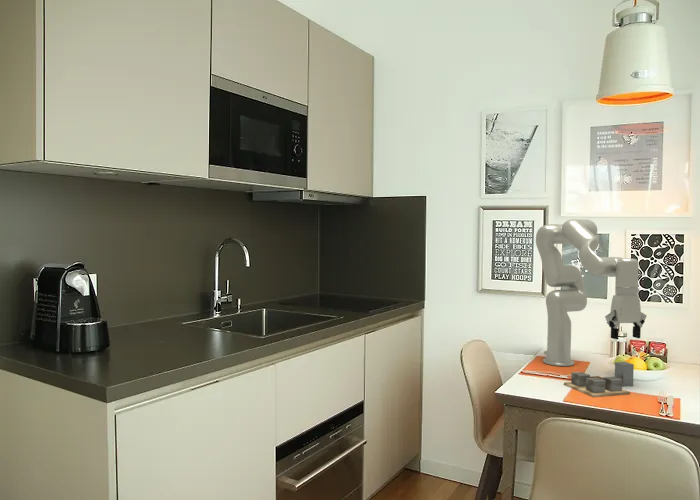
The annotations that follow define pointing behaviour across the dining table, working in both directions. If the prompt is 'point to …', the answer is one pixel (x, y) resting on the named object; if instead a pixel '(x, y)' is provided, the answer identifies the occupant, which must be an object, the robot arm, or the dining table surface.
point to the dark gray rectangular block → (624, 373)
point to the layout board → (596, 385)
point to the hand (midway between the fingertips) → (625, 338)
